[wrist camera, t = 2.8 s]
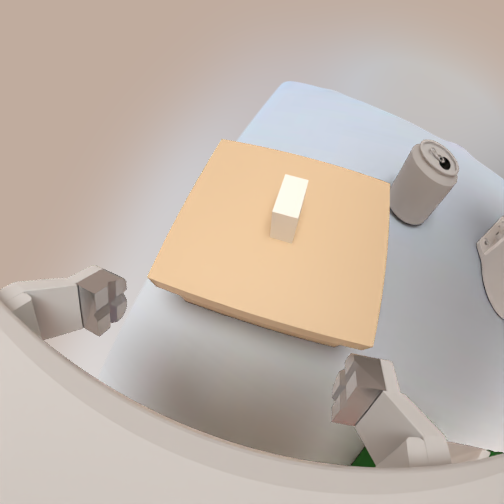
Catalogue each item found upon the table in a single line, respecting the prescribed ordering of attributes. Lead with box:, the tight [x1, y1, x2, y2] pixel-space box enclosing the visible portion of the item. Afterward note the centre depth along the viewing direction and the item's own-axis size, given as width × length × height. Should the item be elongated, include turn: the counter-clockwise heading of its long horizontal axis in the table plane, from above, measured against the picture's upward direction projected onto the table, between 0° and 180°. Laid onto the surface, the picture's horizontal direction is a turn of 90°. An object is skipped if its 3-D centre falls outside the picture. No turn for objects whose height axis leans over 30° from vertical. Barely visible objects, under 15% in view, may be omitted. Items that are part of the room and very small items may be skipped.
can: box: [390, 140, 459, 225], centre depth 31 cm, size 8×8×12 cm
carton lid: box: [147, 139, 390, 350], centre depth 24 cm, size 18×20×6 cm
